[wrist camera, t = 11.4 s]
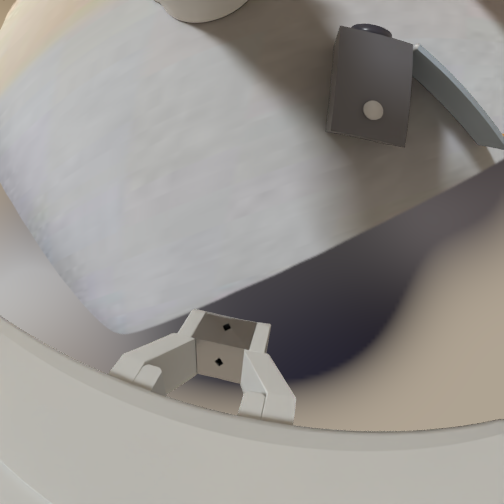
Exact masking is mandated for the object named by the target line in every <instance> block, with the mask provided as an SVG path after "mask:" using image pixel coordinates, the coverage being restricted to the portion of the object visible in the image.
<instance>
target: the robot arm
mask: <svg viewBox="0 0 504 504" xmlns="http://www.w3.org/2000/svg"><path fill="white" fill-rule="evenodd" d="M154 1H156V2H159V3H161V5H162V6H163V7H164V9H165V10H166V11H167V13H168V14H169V15H171V16H172V17H174V18H175V19H178V20H180V21H184V22H191V23H200V22H207V21H212V20H216V19H219V18H221V17H224V16H226V15H228V14H230V13H232V12H234V11H235V10H237V9H238V8H240V7H241V6H242V5H243V4H245V3H246V2H247V1H248V0H154ZM270 329H271V324H265V323H260V322H258V323H257V322H252V321H246V320H241V319H236V318H231V317H227V316H223V315H219V314H214V313H210V312H206V311H201V310H197V309H194V310H192V311H191V313H190V314H189V316H188V318H187V319H186V321H185V323H184V324H183V326H182V327H181V329H180V330H179V332H178V333H177V334H176V333H172V334H170V335H168V336H165V337H163V338H161V339H158V340H156V341H154V342H151V343H149V344H147V345H144V346H142V347H139V348H137V349H135V350H132V351H130V352H127V353H125V354H123V355H122V356H121V358H120V359H119V360H118V362H117V363H116V364H115V366H114V367H113V368H112V370H111V371H110V372H109V374H106V373H103V372H101V371H99V370H97V369H94V368H92V367H90V366H88V365H86V364H84V363H82V362H79V361H77V360H75V359H73V358H71V357H69V356H67V355H66V354H63V353H62V352H60V351H58V350H56V349H54V348H52V347H50V346H49V345H47V344H45V343H43V342H42V341H40V340H38V339H36V338H35V337H33V336H31V335H30V334H28V333H26V332H25V331H23V330H22V329H20V328H18V327H17V326H15V325H14V324H12V323H10V322H9V321H8V320H6V319H5V318H3V317H2V316H0V504H504V419H498V420H493V421H488V422H483V423H477V424H471V425H466V426H458V427H450V428H441V429H430V430H417V431H387V432H385V431H372V432H371V431H346V430H330V429H320V428H310V427H301V426H293V421H294V413H295V404H296V397H295V396H294V394H293V392H292V391H291V389H290V388H289V386H288V385H287V383H286V381H285V380H284V378H283V377H282V375H281V373H280V372H279V370H278V369H277V367H276V365H275V364H274V362H273V360H272V359H271V357H270V355H269V354H266V351H267V345H268V340H269V334H270ZM197 373H198V374H202V375H206V376H211V377H215V378H220V379H224V380H228V381H232V382H236V383H240V384H241V387H242V390H243V393H244V395H243V398H242V402H241V405H240V408H239V411H238V415H232V414H228V413H223V412H219V411H215V410H211V409H207V408H204V407H200V406H196V405H193V404H189V403H186V402H183V401H179V400H176V399H173V398H169V397H167V396H166V395H167V394H168V393H170V392H171V391H173V390H175V389H176V388H178V387H179V386H181V385H182V384H183V383H185V382H186V381H188V380H189V379H191V378H192V377H194V376H195V375H196V374H197Z"/></svg>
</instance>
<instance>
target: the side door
mask: <svg viewBox="0 0 504 504" xmlns="http://www.w3.org/2000/svg"><path fill="white" fill-rule="evenodd" d="M412 76H413V77H414V78H415V79H417V80H418V81H419V82H420V83H421V84H422V85H423V86H424V87H425V88H426V89H427V90H428V91H429V92H431V93H432V94H433V95H434V96H435V97H436V98H437V99H438V100H439V101H440V102H441V103H442V104H443V106H444V107H445V108H446V109H447V110H448V111H449V112H450V113H451V114H452V115H453V116H454V117H455V118H456V119H457V121H458V122H459V123H460V124H461V125H462V126H463V127H464V129H465V130H466V131H467V132H468V133H469V135H470V136H471V137H472V138H473V139H474V141H475V142H476V143H477V144H478V145H482V146H487V147H493V148H498V149H503V150H504V134H502V133H501V132H500V131H499V129H498V128H497V127H496V125H495V124H494V122H493V121H492V120H491V119H490V117H489V116H488V115H487V113H486V112H485V111H484V110H483V108H482V107H481V106H480V105H479V104H478V102H477V101H476V100H475V99H474V98H473V97H472V95H471V94H470V93H469V92H468V91H467V90H466V89H465V88H464V86H463V85H462V84H461V83H460V82H459V81H458V80H457V79H456V78H455V77H454V76H453V75H452V74H451V73H450V72H449V71H448V70H447V69H446V68H445V67H444V66H443V65H442V64H441V63H440V62H439V61H438V60H437V59H436V58H435V57H434V56H432V55H431V54H430V53H429V52H428V51H427V50H426V49H425V48H423V47H422V46H421V45H420V44H415V45H414V46H413V67H412Z"/></svg>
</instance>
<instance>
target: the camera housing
mask: <svg viewBox="0 0 504 504" xmlns="http://www.w3.org/2000/svg"><path fill="white" fill-rule="evenodd" d="M412 67H413V44H410V43H407V42H404V41H400V40H397V39H394V38H392V34H391V33H390V32H389V31H388V30H386V29H384V28H382V27H379V26H376V25H371V24H357V25H354V26H352V27H351V28H349V27H344V26H340V28H339V31H338V35H337V38H336V41H335V45H334V52H333V64H332V76H331V86H330V96H329V106H328V115H327V123H326V131H325V132H331V133H336V134H341V135H347V136H352V137H356V138H361V139H366V140H370V141H375V142H379V143H383V144H388V145H394V146H400V147H405V142H406V135H407V127H408V118H409V109H410V98H411V85H412Z"/></svg>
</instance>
